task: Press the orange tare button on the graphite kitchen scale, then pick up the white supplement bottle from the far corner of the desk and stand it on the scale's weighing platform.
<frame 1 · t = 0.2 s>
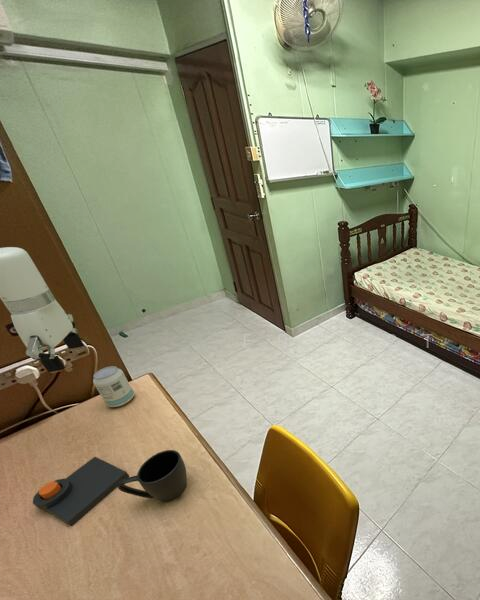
hand: (67, 358, 81), 24 cm above the table, tool pointing down, fingers open, 9 cm apart
white supplement bottle: (122, 401, 100), on the table
scale: (86, 490, 75), on the table
mug: (164, 493, 75), on the table
tare button: (50, 490, 71), point 4 cm above the table, slide at 0.1 cm
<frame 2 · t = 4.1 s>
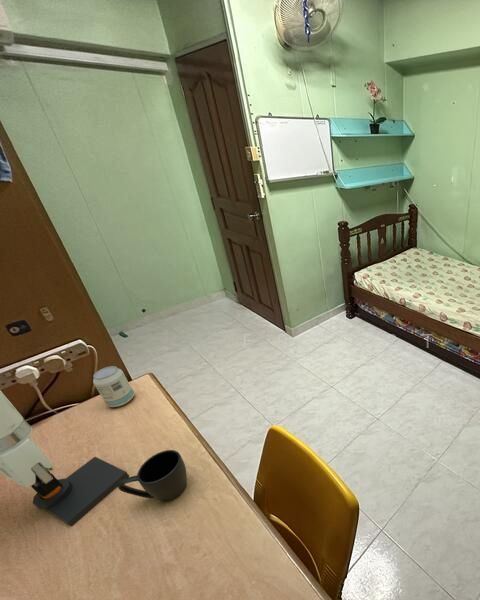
hand: (50, 489, 71), 4 cm above the table, tool pointing down, fingers closed
tare button: (51, 491, 71), point 3 cm above the table, slide at -0.6 cm, touching gripper
everything else where it was.
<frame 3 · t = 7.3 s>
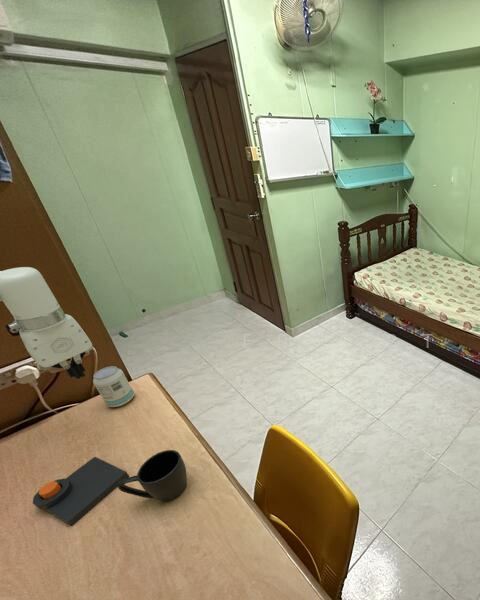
hand: (79, 375, 83), 18 cm above the table, tool pointing down, fingers closed
tare button: (50, 490, 71), point 4 cm above the table, slide at 0.1 cm
everything else where it was.
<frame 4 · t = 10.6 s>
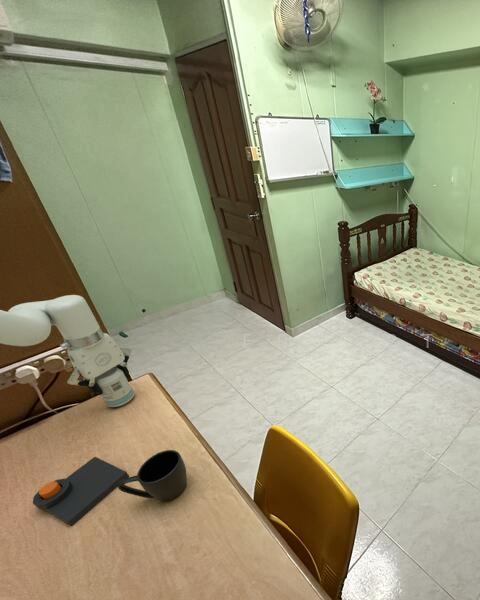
hand: (112, 384, 96), 7 cm above the table, tool pointing down, fingers closed on white supplement bottle, 7 cm apart
white supplement bottle: (122, 401, 100), on the table, touching gripper
everything else where it was.
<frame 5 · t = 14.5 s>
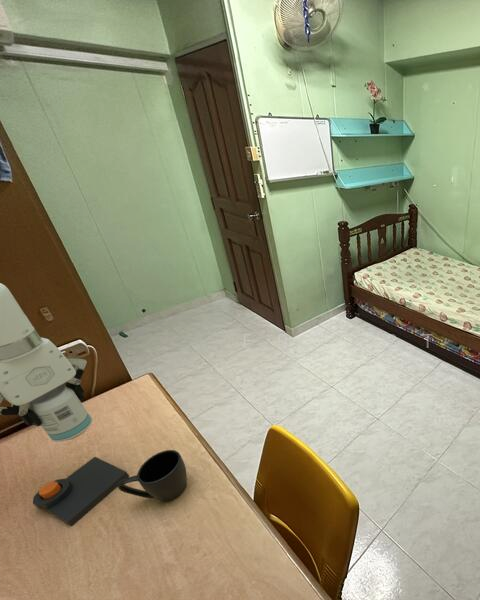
hand: (58, 409, 68), 23 cm above the table, tool pointing down, fingers closed on white supplement bottle, 7 cm apart
white supplement bottle: (74, 432, 72), point 15 cm above the table, touching gripper
everything else where it was.
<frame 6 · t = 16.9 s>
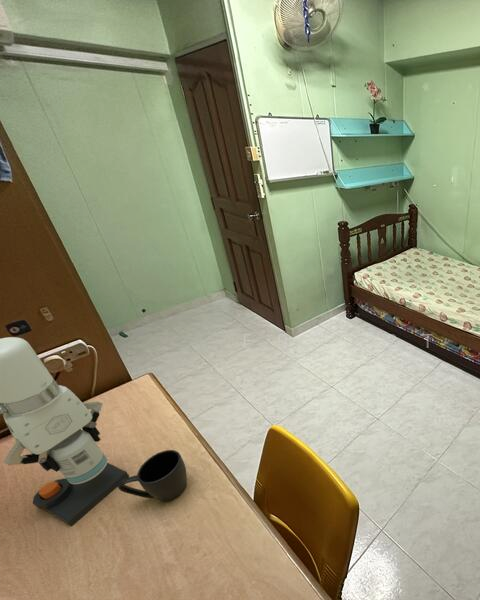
hand: (75, 452, 70), 13 cm above the table, tool pointing down, fingers closed on white supplement bottle, 7 cm apart
white supplement bottle: (90, 472, 73), point 5 cm above the table, touching gripper
everything else where it was.
when the fingers open (9 cm above the table, at t = 18.5 s): white supplement bottle stays where it is, resting on scale.
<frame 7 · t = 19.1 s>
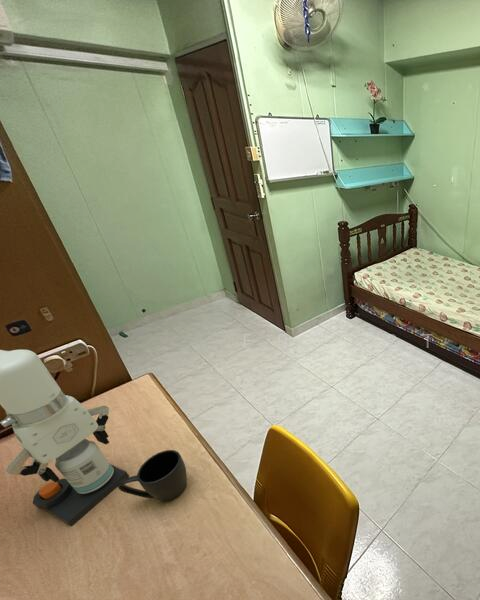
hand: (80, 459, 71), 10 cm above the table, tool pointing down, fingers open, 9 cm apart
white supplement bottle: (97, 481, 75), point 2 cm above the table, touching scale
everything else where it was.
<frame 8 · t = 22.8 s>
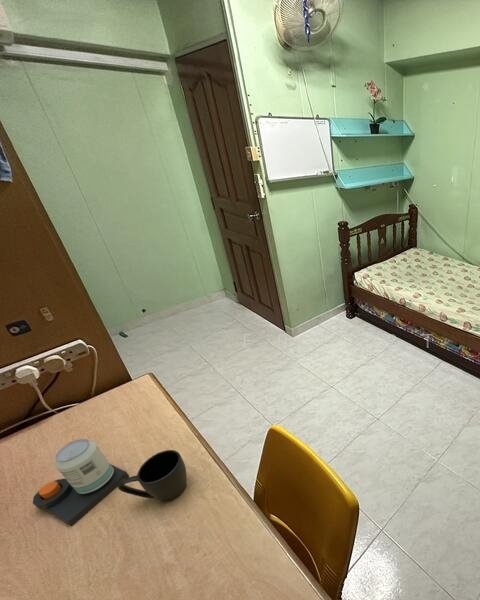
nothing on the table moved.
at the end: tare button pushed in 0.9 cm at the most during the clip, back to where it started at the end; tare button slide at 0.1 cm; white supplement bottle inside the target area on the scale (0.2 cm from its centre), point 1.7 cm above the scale's base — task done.
